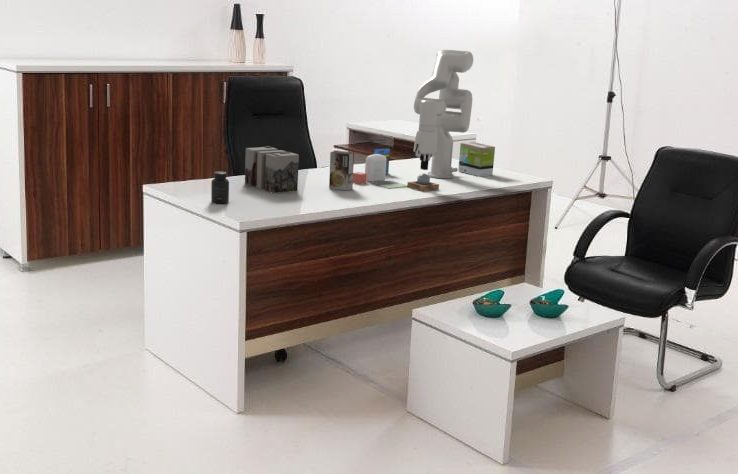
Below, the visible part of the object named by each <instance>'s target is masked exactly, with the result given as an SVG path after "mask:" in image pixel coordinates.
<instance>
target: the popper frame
mask: <svg viewBox="0 0 738 474" xmlns="http://www.w3.org/2000/svg"><path fill="white" fill-rule="evenodd" d="M406 183H407V184H406V185H407V187H406V188H409V189H413V190H415V191H419V192H430V191H438V190H439V189H440V184H439V183H435V182H431V181H430V184H429V185H421V184H417V181H416V180H413V181H407V182H406Z"/></svg>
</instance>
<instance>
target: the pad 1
mask: <svg viewBox="0 0 738 474" xmlns="http://www.w3.org/2000/svg"><path fill="white" fill-rule="evenodd" d="M397 183H399V182H397V181H394V180H390V179H389V180H385V181H370V182H369V184H372V185H375V186H378V187H381V186H380V185H387V184H397Z"/></svg>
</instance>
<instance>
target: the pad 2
mask: <svg viewBox="0 0 738 474" xmlns="http://www.w3.org/2000/svg"><path fill="white" fill-rule="evenodd" d="M379 187H381V188H385V189H388V190H390V189H391V190H393V189H399V188H408V187H407V184H404V183H400V182H398V183H397V184H387V185H380V186H379Z"/></svg>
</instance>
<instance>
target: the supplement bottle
mask: <svg viewBox="0 0 738 474" xmlns="http://www.w3.org/2000/svg"><path fill="white" fill-rule="evenodd" d="M227 176H228V175H227V172H226V171H221V170H219V171H214V172H213V179H212V180H211V182H210V183H211V184H210V185H211V186H210V187H211V188H210V189H211V191H210V192H211V194H210V195H211V197H210V198H211V199H210V200H211V203H212V204H214V203H216V204H215V205H225V203H226V204H228V203H229V202H230V201H229V200H230V180H229V179H227Z"/></svg>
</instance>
